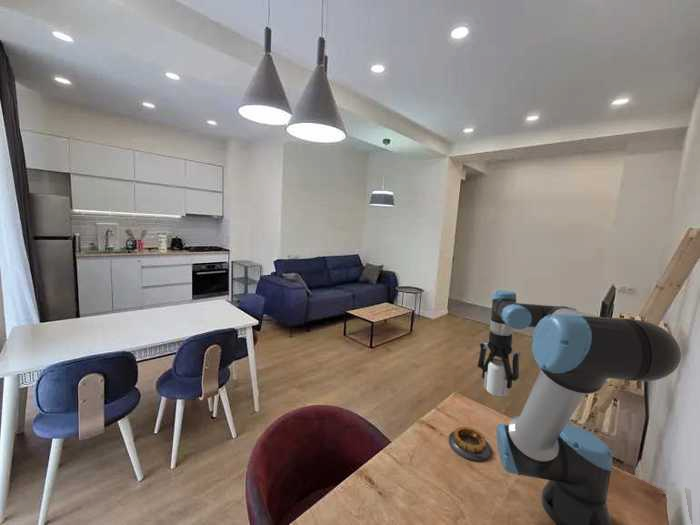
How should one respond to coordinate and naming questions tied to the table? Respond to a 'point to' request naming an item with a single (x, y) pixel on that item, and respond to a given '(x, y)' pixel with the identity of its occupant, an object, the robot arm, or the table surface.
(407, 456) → the table surface
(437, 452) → the table surface
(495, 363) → the can
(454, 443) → the grey and gold ring
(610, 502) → the table surface
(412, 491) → the table surface
